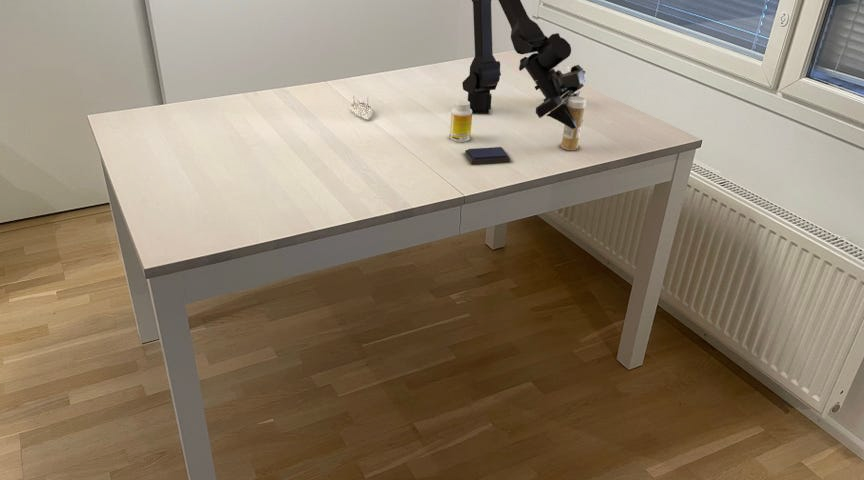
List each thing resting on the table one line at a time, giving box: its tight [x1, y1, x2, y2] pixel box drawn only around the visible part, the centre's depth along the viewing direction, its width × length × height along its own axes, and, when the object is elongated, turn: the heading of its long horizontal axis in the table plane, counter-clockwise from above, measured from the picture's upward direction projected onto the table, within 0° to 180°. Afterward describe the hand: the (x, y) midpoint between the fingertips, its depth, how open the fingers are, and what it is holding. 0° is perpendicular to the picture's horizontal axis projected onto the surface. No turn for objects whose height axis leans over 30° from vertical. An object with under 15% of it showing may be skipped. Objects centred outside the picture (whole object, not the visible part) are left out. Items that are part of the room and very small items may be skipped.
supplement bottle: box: [449, 99, 473, 143], centre depth 193 cm, size 6×6×10 cm
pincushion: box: [348, 95, 374, 120], centre depth 209 cm, size 12×6×6 cm, turn 19°
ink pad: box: [464, 146, 511, 165], centre depth 185 cm, size 10×6×2 cm, turn 99°
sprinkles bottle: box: [560, 96, 587, 151], centre depth 187 cm, size 5×5×14 cm
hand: (578, 125), depth 187 cm, fingers closed on sprinkles bottle, 4 cm apart
